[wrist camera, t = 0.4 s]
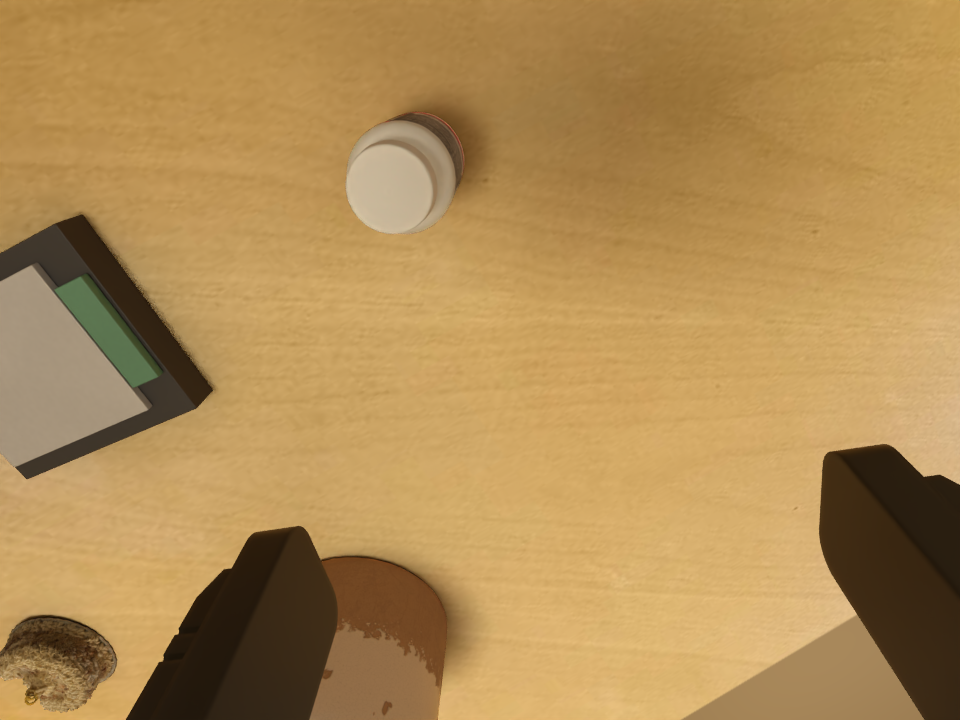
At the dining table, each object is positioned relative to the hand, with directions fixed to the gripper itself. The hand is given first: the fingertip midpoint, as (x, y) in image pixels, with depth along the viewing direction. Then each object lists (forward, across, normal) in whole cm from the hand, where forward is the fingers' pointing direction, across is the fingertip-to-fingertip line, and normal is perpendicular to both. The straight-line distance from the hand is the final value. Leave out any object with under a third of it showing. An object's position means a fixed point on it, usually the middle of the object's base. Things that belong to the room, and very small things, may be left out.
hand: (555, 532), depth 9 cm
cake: (+29, +51, +34) cm, 68 cm away
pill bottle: (+29, +6, -3) cm, 30 cm away
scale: (+29, +34, +5) cm, 45 cm away
